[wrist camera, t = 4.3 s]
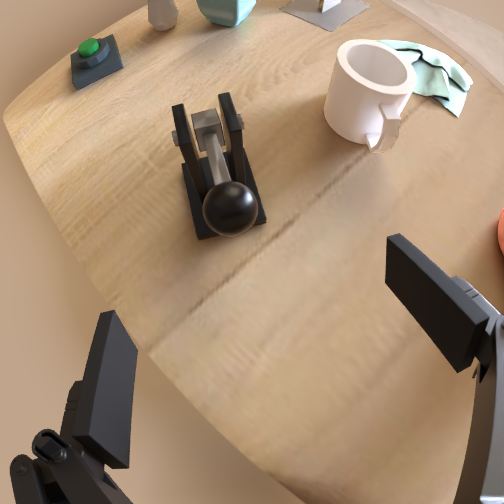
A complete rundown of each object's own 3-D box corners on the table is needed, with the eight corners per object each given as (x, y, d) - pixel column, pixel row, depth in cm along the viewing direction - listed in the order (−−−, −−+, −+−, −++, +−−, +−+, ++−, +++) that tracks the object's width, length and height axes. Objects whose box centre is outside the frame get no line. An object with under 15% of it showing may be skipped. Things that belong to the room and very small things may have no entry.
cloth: (480, 84, 45) (485, 77, 42) (445, 135, 41) (452, 126, 38) (400, 25, 48) (403, 17, 46) (344, 59, 45) (347, 49, 42)
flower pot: (261, 13, 48) (262, -23, 40) (240, 35, 46) (237, -5, 38) (221, 5, 50) (218, -30, 41) (197, 26, 48) (191, -11, 39)
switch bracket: (266, 222, 37) (271, 154, 23) (199, 240, 37) (165, 181, 23) (244, 152, 40) (238, 68, 26) (183, 168, 39) (151, 90, 25)
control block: (123, 67, 45) (116, 51, 41) (77, 90, 44) (68, 76, 40) (115, 41, 48) (109, 27, 44) (74, 62, 47) (67, 48, 43)
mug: (408, 163, 39) (442, 118, 29) (342, 168, 39) (365, 118, 29) (376, 90, 43) (396, 41, 32) (315, 91, 43) (326, 38, 32)
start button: (100, 51, 42) (97, 44, 40) (82, 60, 42) (78, 54, 40) (98, 42, 43) (95, 35, 41) (80, 50, 43) (77, 44, 41)
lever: (266, 239, 20) (261, 200, 18) (213, 253, 20) (200, 216, 17) (227, 133, 28) (221, 101, 25) (191, 142, 28) (182, 111, 25)
